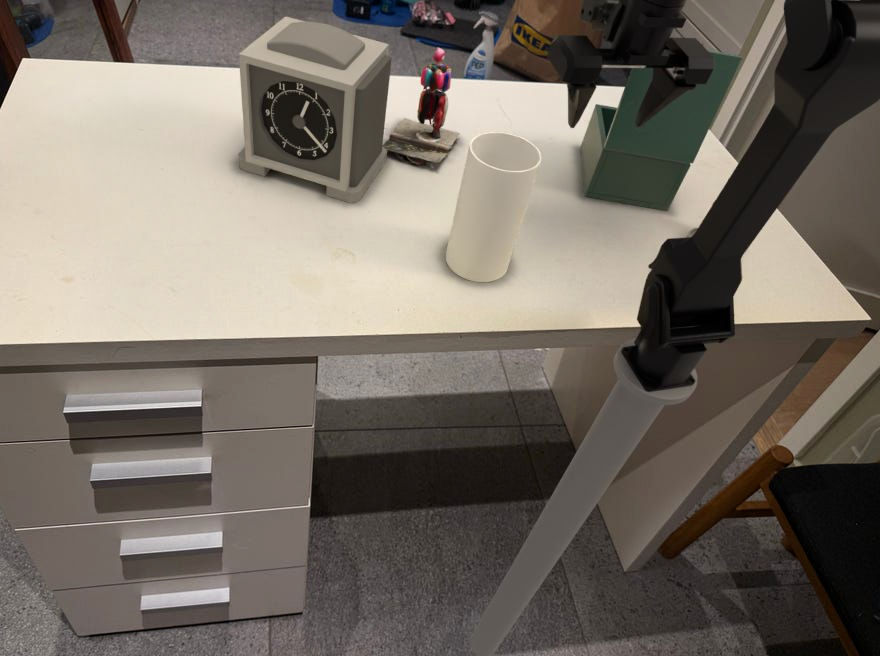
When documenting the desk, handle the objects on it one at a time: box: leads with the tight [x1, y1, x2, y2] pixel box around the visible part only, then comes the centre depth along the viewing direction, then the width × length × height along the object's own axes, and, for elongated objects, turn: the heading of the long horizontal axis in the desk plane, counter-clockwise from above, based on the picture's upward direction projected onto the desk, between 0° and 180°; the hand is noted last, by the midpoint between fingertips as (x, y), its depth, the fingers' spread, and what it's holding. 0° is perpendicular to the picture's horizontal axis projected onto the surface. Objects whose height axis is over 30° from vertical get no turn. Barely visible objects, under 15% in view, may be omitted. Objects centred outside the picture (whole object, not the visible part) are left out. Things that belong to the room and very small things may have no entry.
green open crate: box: [579, 103, 691, 211], centre depth 100 cm, size 14×13×8 cm
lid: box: [604, 49, 743, 164], centre depth 88 cm, size 14×13×1 cm
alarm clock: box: [237, 16, 393, 204], centre depth 89 cm, size 18×13×18 cm
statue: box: [382, 47, 461, 166], centre depth 98 cm, size 11×9×15 cm
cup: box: [445, 131, 542, 283], centre depth 80 cm, size 8×8×16 cm
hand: (604, 125), depth 82 cm, fingers open, 9 cm apart
